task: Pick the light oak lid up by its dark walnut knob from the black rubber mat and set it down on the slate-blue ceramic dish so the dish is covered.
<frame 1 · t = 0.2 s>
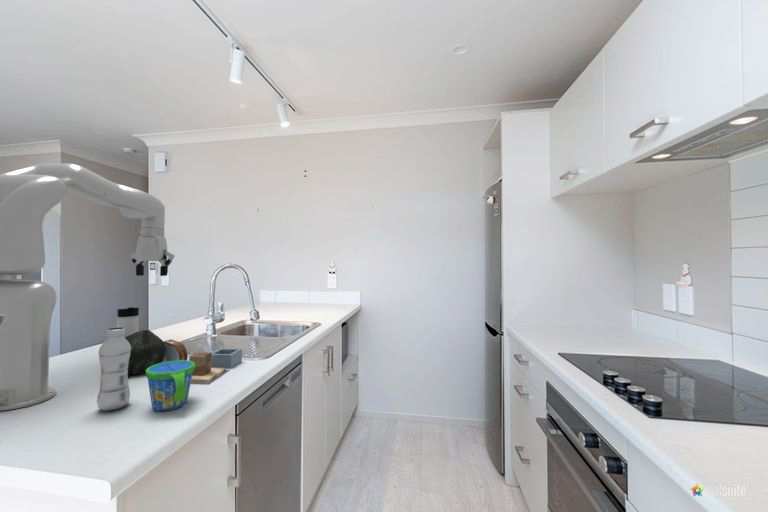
hand: (151, 275, 130), 31 cm above the countertop, tool pointing down, fingers open, 9 cm apart
lid: (200, 376, 103), resting on mat
squash: (138, 372, 107), on the countertop
brown curved piece: (172, 365, 115), on the countertop
mat: (200, 377, 103), on the countertop
travel mug: (126, 361, 119), on the countertop
snack cup: (170, 406, 83), on the countertop
plastic bottle: (113, 409, 81), on the countertop
dish: (225, 365, 115), on the countertop
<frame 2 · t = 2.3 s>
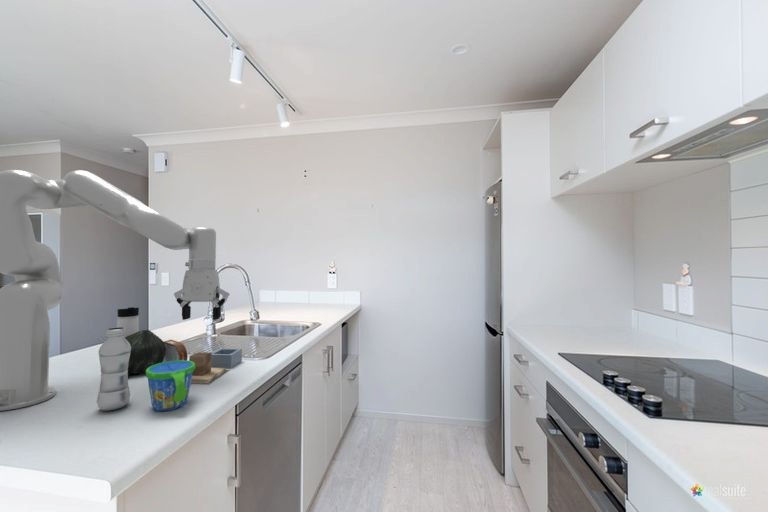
hand: (201, 319, 104), 19 cm above the countertop, tool pointing down, fingers open, 9 cm apart
nothing on the countertop moved.
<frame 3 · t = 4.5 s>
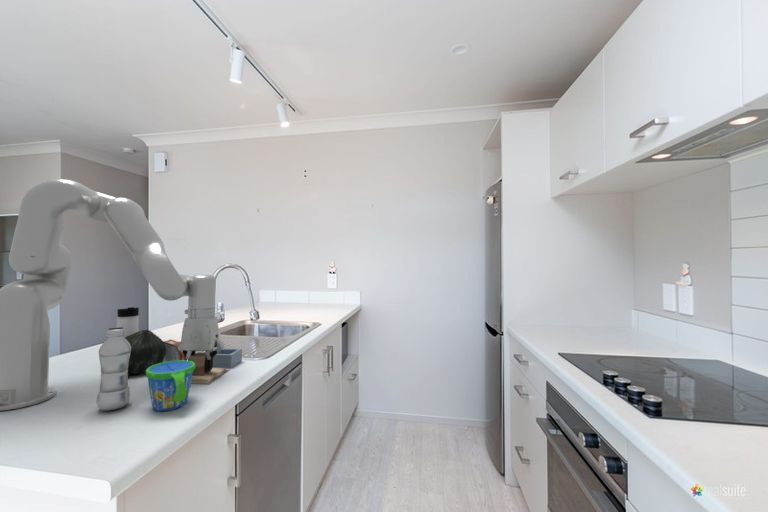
hand: (200, 370, 103), 2 cm above the countertop, tool pointing down, fingers closed on lid, 4 cm apart
lid: (200, 376, 103), resting on mat, touching gripper
everything else where it was.
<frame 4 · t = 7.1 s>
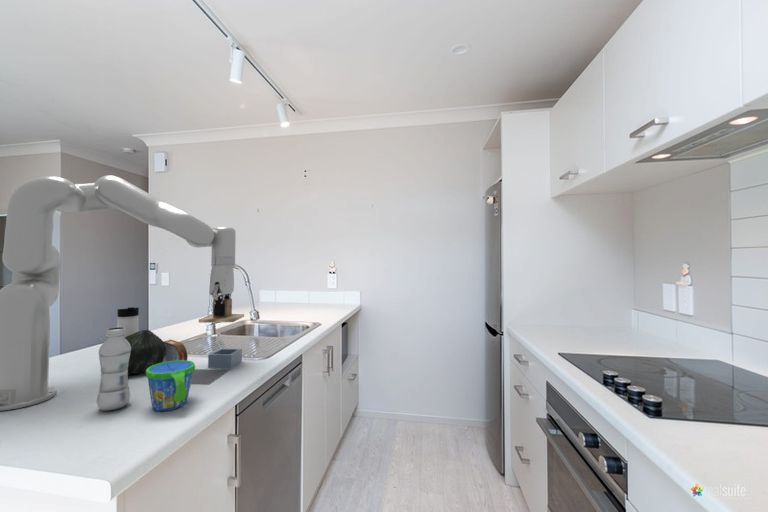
hand: (222, 313, 113), 19 cm above the countertop, tool pointing down, fingers closed on lid, 4 cm apart
lid: (222, 319, 113), point 17 cm above the countertop, touching gripper
everything else where it was.
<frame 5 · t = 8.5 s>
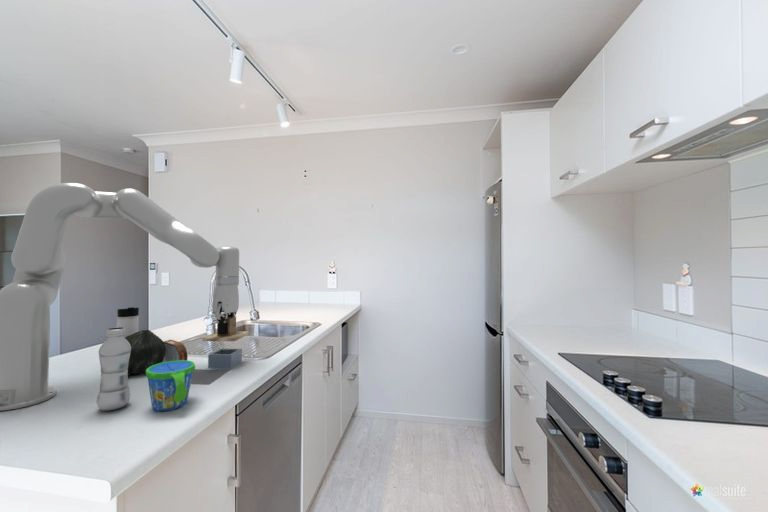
hand: (226, 332, 115), 12 cm above the countertop, tool pointing down, fingers closed on lid, 4 cm apart
lid: (226, 337, 115), point 10 cm above the countertop, touching gripper
everything else where it was.
when the fingers open (9 cm above the countertop, at t = 9.5 s): lid drops 2 cm, resting on dish.
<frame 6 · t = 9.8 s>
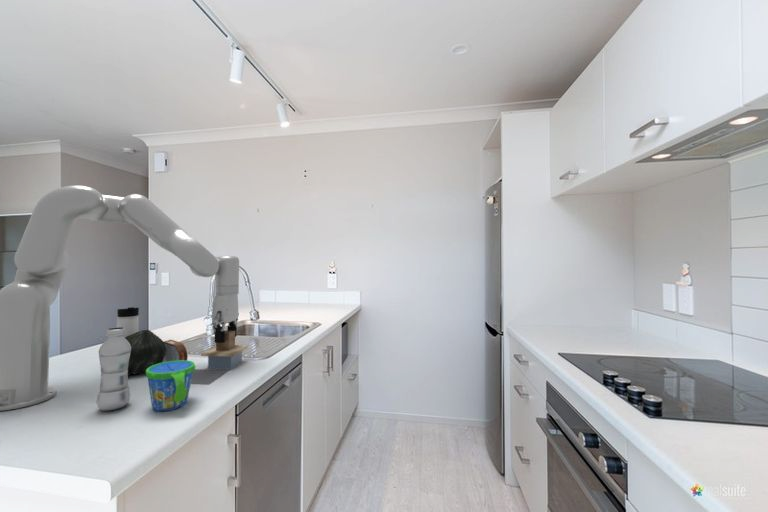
hand: (226, 339, 115), 9 cm above the countertop, tool pointing down, fingers open, 8 cm apart
lid: (225, 351, 115), point 5 cm above the countertop, touching dish
everything else where it was.
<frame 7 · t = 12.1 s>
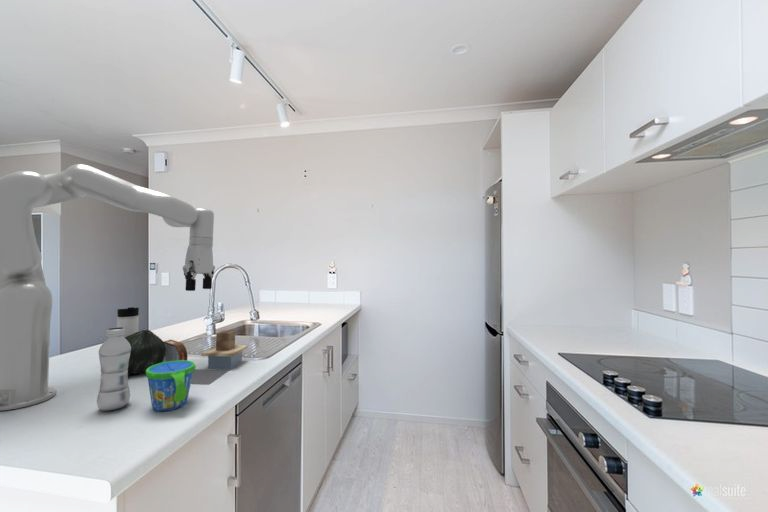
hand: (199, 289, 118), 27 cm above the countertop, tool pointing down, fingers open, 9 cm apart
nothing on the countertop moved.
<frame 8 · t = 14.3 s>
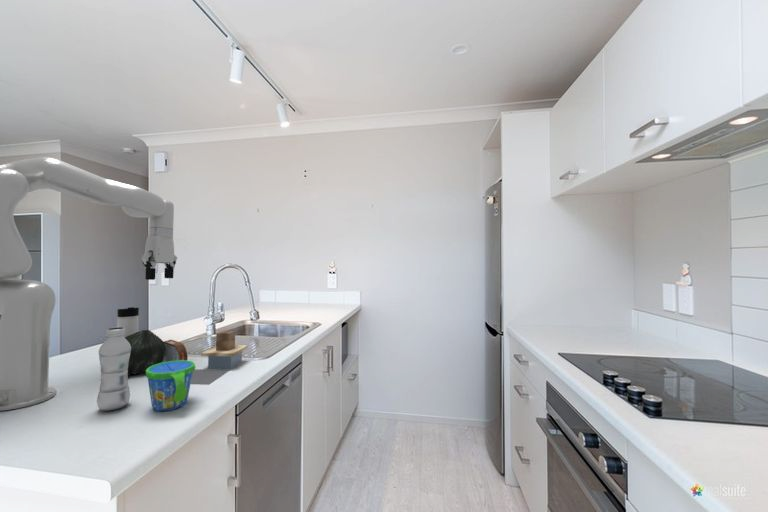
hand: (159, 278, 121), 30 cm above the countertop, tool pointing down, fingers open, 9 cm apart
nothing on the countertop moved.
at the end: lid 0.1 cm off-centre on the dish, point 5.0 cm above the dish's base; lid tilted 0°; the gripper is holding nothing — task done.
